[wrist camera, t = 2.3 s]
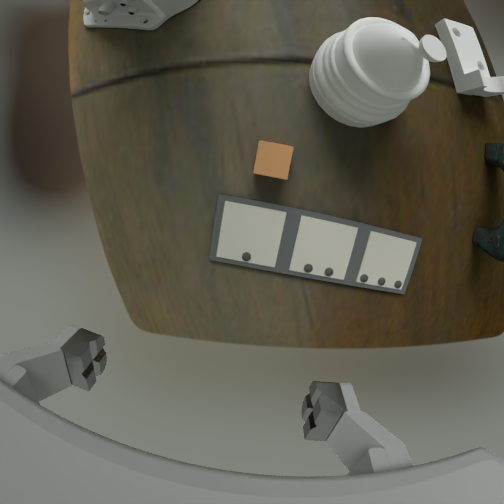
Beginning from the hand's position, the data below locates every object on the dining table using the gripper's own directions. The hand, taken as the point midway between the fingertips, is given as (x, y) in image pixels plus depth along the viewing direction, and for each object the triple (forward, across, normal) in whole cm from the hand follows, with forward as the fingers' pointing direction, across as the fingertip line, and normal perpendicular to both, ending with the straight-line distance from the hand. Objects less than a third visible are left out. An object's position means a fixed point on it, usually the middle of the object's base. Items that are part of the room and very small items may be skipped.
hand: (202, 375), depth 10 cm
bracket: (+30, -29, -36) cm, 55 cm away
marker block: (+29, -2, -9) cm, 31 cm away
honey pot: (+30, -11, -22) cm, 38 cm away
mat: (+29, -11, +1) cm, 31 cm away
